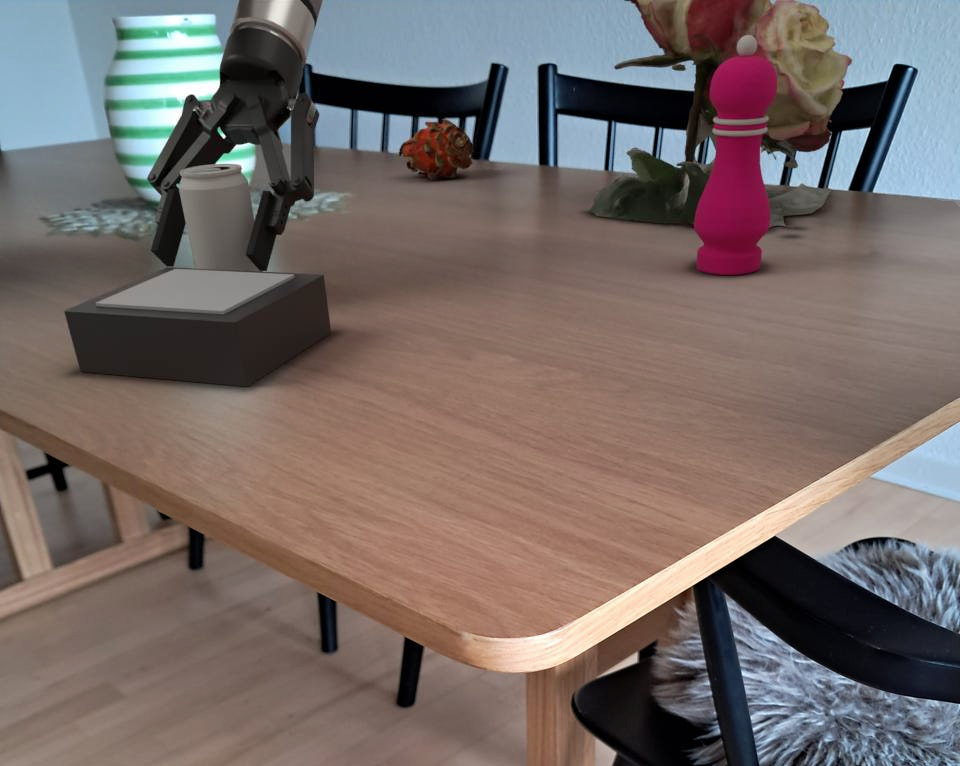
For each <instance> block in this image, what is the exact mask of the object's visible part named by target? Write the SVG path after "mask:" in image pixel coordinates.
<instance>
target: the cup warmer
mask: <svg viewBox="0 0 960 766" xmlns="http://www.w3.org/2000/svg"><path fill="white" fill-rule="evenodd" d="M327 297H328V296H327V290H326V282H325V274H317V273H299V272H298V273H297V272H295V273H294V272H277V271H276V272H275V271H263V272H256V271H235V270H214V269H195V268H192V267H191V268H190V267H167V266H166V267H165V268H162V269H160V270H157V271H155V272H152V273H150V274H148V275H145V276H143V277H141V278H138V279H136V280H134V281H131V282H129V283H127V284H124V285H121V286H119V287H117V288H115V289H112V290H110V291H107V292H105V293H103V294H101V295H98V296H96V297H93V298H91V299H88V300H86V301H83V302H81V303H79V304H77V305H74V306H72V307H69V308H67V309H64V310H63V312H64V313H63V314H64V317H65V321H66V324H67V327H68V331H69V334H70V338H71V342H72V347H73V350H74V352H75V357H76V360H77V364H78V368H79V371H80V373H90V374H103V375H113V376H124V377H135V378H145V379H146V378H147V379H158V380H168V381H169V380H170V381H179V382H192V383H201V384H202V383H203V384H212V385H213V384H214V385H224V386H235V387H236V386H237V387H247V388H248V387H250V386H251V385H252V384H254V383H256V382H257V381H258V380H260V379H261V378H263V377H265V376H267V375H268V374H270V373H271V372H273V371H274V370H276V369H277V368H279V367H280V366H282V365H284V364H285V363H287V362H288V361H290V360H291V359H293V358H294V357H296V356H297V355H299V354H301V353H303V352H304V351H305V350H307V349H309V348H310V347H311V346H313V345H315V344H317V343H318V342H319V341H322V340H323V339H324V338H326V337H327V336H329V335H331V334H332V327H331V320H330V311H329V304H328V298H327Z"/></svg>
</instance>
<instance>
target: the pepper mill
mask: <svg viewBox="0 0 960 766" xmlns="http://www.w3.org/2000/svg"><path fill="white" fill-rule="evenodd" d="M756 49H757V41H756V39H755V38H754V37H753V36H751V35H745V36H743V37H742V38H741V39H740V40H739V41H738V44H737V52H738V54H739V55H740V56H736V57H732V58H730V59H728V60H726V61H725V62H723V63H722V64H721V65H720V66H719V67H718V68H717V70H716V71H715V73H714V75H713V78H712V80H711V85H710V100H711V102H712V104H713V106H714V107H715V109H716V110H717V113H718V116H716V117H715V118H714V119H713V122H714V123H715V124H714V128H713V130H712V132H713V133H714V134H715V135H716V150H715V155H714V158H715V160H714V159H713V160H714V165H713V169H712V172H711V175H710V178H709V180H708V183H707V185H706V187H705V189H704V191H703V194H702V196H701V198H700V200H699V203H698V207H697V210H696V214H695V221H694V224H693V228H694V232H695V234H697V236H698V237H699V239H700V240H701V242H702V243H703V244H702V245H701V246H700V247H698V248H697V253H696V264H695V266H696V268H697V270H698V271H700V272H703V273H706V274H710V275H717V276H739V275H747V274H751V273H755V272H757V271H758V270H759V269H760V268H761V265H762V255H763V250H762V248H761V247H760V246H759V245H758V243H759V242H760V241H761V239H762V238H763V237H764V236H765V235H766V233H767V232H768V231H769V230H770V229H769V228H770V227H769V226H770V205H769V199H768V196H767V193H766V192H767V190H766V186H765V183H764V179H763V175H762V174H763V173H762V167H761V166H762V165H761V141H762V136H763V134H764V133H766V132H767V130H768V129H767V127H766V126H767V123H766V122H767V121H768V120H769V117H768V116H767V115H764V114H765V112H766V110H767V108H768V107H769V106H770V105H771V103H772V102H773V100H774V99H775V96H776V93H777V75H776V71H775V69H774V67H773V65H772V64H771V63H770V62H769V61H767V60H766V59H764V58H762V57H759V56H755V55H753V54H754V53H755V51H756Z"/></svg>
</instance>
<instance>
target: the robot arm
mask: <svg viewBox="0 0 960 766" xmlns="http://www.w3.org/2000/svg"><path fill="white" fill-rule="evenodd" d="M323 1H324V0H238V2H237V5H236V9H235V11H234V16H233V19H232V22H231V25H230V27H229V28H230V29H229V35H228V38H227V40H226V44H225V48H224V50H223V54H222V58H221V61H220V64H219V87H218V89H217V90H216V91H215V92H214V94H213V95H212V96H211V99H204V100H203V99H202V100H199V99H198V98H197V97H196V95H194V94H193V93H191V94H188V95H187V96H186V97H185V98H184V102H183V106H182V111H181V115H180V117H179V119H178V120H177V123H176V125H175V126H174V128H173V130H172V131H171V133H170V135H169V137H168V139H167V141H166V142H165V144H164V146H163V148H162V150H161V151H160V154H159V155H158V157H157V158H156V161H155V162H154V164H153V166H152V168H151V170H150V171H149V173H148V175H147V177H146V181H147V182H148V183H149V184H150V186H151V187H153V189H154V190H155V191H156V192H157V193H158V194H159V196H160V199H159V202H158V206H157V208H156V209H157V210H156V213H155V216H154V222H155V224H156V225H157V227H156V231H155V234H154V237H153V240H152V244H151V246H150V247H151V248H150V252H151V253H153V255H154V256H155V257H156V258H158V259H159V260H160V262H161V263H162V264H164V265H165V267H166V268H167V267H171V268H174V267H175V262H176V259H177V256H178V252H179V249H180V245H181V241H182V238H183V234H184V231H185V228H186V222H185V217H184V212H183V207H182V202H181V197H180V192H179V186H178V185H179V184H180V181H181V179H182V176H181V175H180V171H181V170H183V169H186V168H190V167H195V166H202V165H211V164H217V163H218V161H219V160H220V159H221V158H222V157H223V155H228V154H230V153H231V152H232V151H233V150H234V148H236V147H237V146H242V145H247V144H251V145H254V146H260V147H261V152H262V155H263V159H264V163H265V167H266V170H267V174H268V178H269V181H270V182H268V185H269V186H270V188H271V189H272V191H273V192H271V190H262V193H261V197H260V200H259V204H258V208H257V210H256V214H255V217H254V221H255V222H254V225H253V229H252V232H251V236H250V240H249V243H248V247H247V251H246V254H245V255H246V256H247V257H248V258H249V259H250V260H251V261H252V263H253V264H254V265H255V266H256V267H257V268H258V269H259V271H263V272H268V268H269V266H270V265H269V264H270V261H271V257H272V253H273V249H274V246H275V242H276V239H277V236H282V235H283V233H284V232H285V231H286V226H287V222H288V219H289V214H290V211H291V209H292V207H293V206H294V205H295V204H296V202H298V201H301V200H303V201H304V202H310V201H312V200H313V199H314V197H315V130H316V127H317V124H318V121H319V118H320V112H319V111H318V108H317V107H316V106H315V104H314V102H313V100H312V99H311V97H310V96H309V94H308V93H307V92H301V93H299V90H300V85H301V82H302V79H303V75H304V68H305V66H306V64H307V60H308V56H309V52H310V49H311V44H312V42H313V37H314V33H315V30H316V26H317V22H318V19H319V14H320V11H321V8H322V5H323ZM289 119H290V173H289V170H288V166H287V162H286V159H285V155H284V151H283V149H284V146H283V143H282V140H281V135H280V132H279V129H280V128H281V127H282V126H284V124H285V123H286V122H287V121H288V120H289ZM219 130H220V131H221V133H222V134H223V135H224V137H223V136H222V134H221V133H220V132H219Z"/></svg>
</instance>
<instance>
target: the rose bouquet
mask: <svg viewBox="0 0 960 766" xmlns="http://www.w3.org/2000/svg"><path fill="white" fill-rule="evenodd" d="M623 1H624V2H630V3H631V4H634V7H636V9H637V10H638V12H639V13H640V19H642V22H643V25H644V26H645V29H646V30H647V32H648V34H650V36H651V37H652V39H653V41H654V42H655V43H656V45H657V47H658V49H662V51H663V54H655V55H649V56H645V57H638V58H632V59H628V60H624V61H621V62H618V63H617V64H615V65H614V66H613V68H614V70H616V71H617V70H621V69H624V68H629V67H636V68H637V67H640V68H641V67H642V68H659V69H660V68H661V69H663V68H669V67H671V69H672V71H676V72H677V71H678V72H684V71H685V72H686V71H687V68H686V65H685V64H681V63H685V62H690V61H692V62H693V63H692V66H694V65H695V75H694V79H695V81H694V84H693V89H694V92H693V102H692V105H691V107H690V109H689V115H688V120H687V121H688V122H687V127H686V131H685V136H686V139H685V147H684V158H685V159H684V161H680V162H678V163H676V166H674V165H673V164H671V163H670V162H667V161H665V160H663V159H661V158H658V157H655V156H654V155H653V154H651V153H650V152H647V151H646V150H645V149H641V148H638V147H632V148H631V149H629V150H627V151H626V152H625V153H626V155H627V156H629V159H630V160H631V168H630V169H631V170H632V171H633V172H634V173H635V174H636V175H637V176H638V177H634V176H628V175H625V174H623V175H621V176H619V177H617V178H616V179H614V180H613V182H612V183H610V184H609V185H608V186H607V187H603V188H601V189H600V190H597V191H596V193H595V197H594V200H593V205H592V207H590V209H589V210H588V211H589V213H591V214H594V215H595V216H597V217H602V218H610V219H616V220H624V221H636V222H638V221H639V222H647V223H655V224H656V223H657V224H663V225H665V224H666V223H670V224H673V223H680V222H682V223H687V224H691V225H694V221H695V214H696V210H697V207H698V203H699V200H700V198H701V196H702V194H703V191H704V189H705V187H706V185H707V183H708V180H709V178H710V175H711V172H712V169H713V165H714V160H715V157H714V158H713V159H712V160H711V162H710V163H700V162H698V161H697V159H696V150H697V148H698V146H699V145H701V143H703V142H704V141H705V140H706V139H707V138H708V137H709V138H710V140H711V142H712V145H713V148H714V150H715V151H716V135H715V134H714V133H713V132H712V130H713V128H714V124H715V123H714V122H713V119H714V118H715V117H716V116H718V113H717V110H716V109H715V107H714V106H713V104H712V102H711V100H710V85H711V80H712V78H713V75H714V73H715V71H716V70H717V68H718V67H719V66H720V65H721V64H722V63H723V62H725V61H726V60H728V59H730V58H732V57H736V56H740V55H739V54H738V52H737V44H738V41H739V40H740V39H741V38H742V37H743V36H745V35H751V36H753V37H754V38H755V39H756V41H757V49H756V51H755V53H754V54H753V55H755V56H759V57H762V58H764V59H766V60H767V61H769V62H770V63H771V64H772V65H773V67H774V69H775V71H776V75H777V93H776V96H775V99H774V100H773V102H772V103H771V105H770V106H769V107H768V108H767V110H766V112H765V114H764V115H767V116H768V117H769V120H768V121H767V122H766V123H767V126H766V127H767V129H768V130H767V132H766V133H764V134H763V136H762V141H761V147H760V154H762V153H763V152H766V154H767V155H772V156H773V159H774V160H775V161H777V156H776V155H775V154H774V153H776V152H780V153H782V154H784V155H786V156H787V157H788V158H789V159H790V160H789V161H786V162H783V163H782V164H783V165H784V166H785V167H787V168H790V169H797V168H799V167H798V166H799V164H798V161H797V160H796V158H795V157H794V155H793V154H794V152H800V153H813V152H815V151H819V150H821V149H822V148H824V147H825V146H826V145H827V144H829V143H830V141H831V137H832V136H833V134H832V131H831V130H829V128H828V127H827V126H828V123H832V120H831V119H830V117H831V116H832V114H833V112H834V110H835V109H836V107H837V105H838V104H839V103H840V101H841V99H842V96H843V94H844V91H842V89H843V87H844V86H845V80H844V79H845V77H846V76H847V73H848V68H849V67H850V66H851V65H852V62H853V59H852V58H851V57H850V56H848V55H847V54H843V53H839V52H837V51H835V50H834V49H833V47H835V46H836V45H837V43H836V42H835V37H833V36H831V35H828V34H827V32H828V31H829V29H830V24H829V21H828V20H827V18H825V17H823V16H822V15H821V14H820V12H821V11H820V10H819V8H818V7H817V6H816V5H814V4H812V5H811V4H808V3H805V2H802V1H797V0H774V1H773V3H772V2H771V0H623ZM575 89H576V88H575V87H573V90H575ZM831 192H832V189H831V188H828V187H825V188H818V187H815V186H809V185H806V184H804V183H803V182H802V183H800V184H799V185H798V186H797V187H795V188H794V189H792V190H785V191H766V193H767V196H768V199H769V205H770V226H769V228H771V227H775V226H780V227H789V228H793V225H792V226H791V225H786V224H785V222H784V216H798V215H799V216H800V215H810V214H813V213H814V212H816V211H817V210H819V209H820V208H822V207H823V206H824V204H826V201H827V199H828V196H829V195H830V193H831ZM791 235H792V234H791Z"/></svg>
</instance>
